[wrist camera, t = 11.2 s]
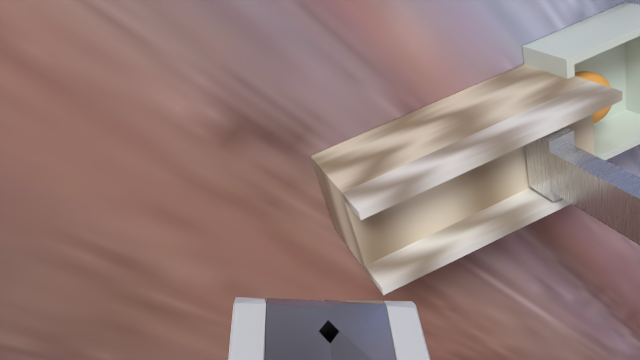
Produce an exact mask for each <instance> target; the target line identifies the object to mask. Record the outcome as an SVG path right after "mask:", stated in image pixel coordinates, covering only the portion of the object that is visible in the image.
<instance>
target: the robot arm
mask: <svg viewBox="0 0 640 360" xmlns="http://www.w3.org/2000/svg"><path fill="white" fill-rule="evenodd" d="M228 360H430V356H429V352H428V348H427V345H426V341H425V337H424V333H423V330H422V326H421V322H420V318H419V314H418V311H417V307H416V305H415V304H414V303H413V301H383V302H382V301H378V300H324V301H320V300H299V299H277V298H267V301H266V298H245V297H236V298H235V302H234V305H233V315H232V326H231V336H230V347H229V357H228Z"/></svg>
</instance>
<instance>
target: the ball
mask: <svg viewBox="0 0 640 360" xmlns="http://www.w3.org/2000/svg"><path fill="white" fill-rule="evenodd" d="M575 76H577V77H580V78H583V79H586V80H589V81H592V82H595V83H599V84H602V85H605V86H608V87H611V86H610V84H609V82H608V81H607V80H606V79H605V78H604V77H603V76H601V75H599V74H597V73H594V72H590V71H580V72H575ZM611 106H612V105H611ZM611 106H609V107H607V108H605V109H602V110H600V111H598V112H596V113H594V114H593V124H594V123H596V122H598V121H600V120H601V119H603V118H604V117H605V116H606V115H607V113H608V112H609V110H610V109H611Z"/></svg>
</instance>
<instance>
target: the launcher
mask: <svg viewBox="0 0 640 360" xmlns="http://www.w3.org/2000/svg"><path fill="white" fill-rule="evenodd" d="M622 100H623V97H622V91H620V90H617V89H614V88H611V87H608V86H605V85H602V84H599V83H595V82H592V81H589V80H586V79H583V78H580V77H577V76H573V77H571V78H569V79H566V78H563V77H560V76H557V75H554V74H551V73H549V72H546V71H543V70H540V69H537V68H534V67H531V66H528V65H525V64H523V65H521V66H518V67H516V68H514V69H512V70H509V71H507V72H505V73H502V74H500V75H498V76H495V77H493V78H491V79H488V80H486V81H484V82H481V83H479V84H477V85H474V86H472V87H470V88H467V89H465V90H463V91H460V92H458V93H456V94H454V95H451V96H449V97H447V98H444V99H442V100H440V101H437V102H435V103H433V104H430V105H428V106H426V107H423V108H421V109H419V110H416V111H414V112H412V113H409V114H407V115H405V116H402V117H400V118H398V119H395V120H393V121H391V122H389V123H386V124H384V125H382V126H379V127H377V128H375V129H372V130H370V131H368V132H365V133H363V134H361V135H358V136H356V137H354V138H351V139H349V140H347V141H344V142H342V143H340V144H337V145H335V146H333V147H330V148H328V149H326V150H324V151H321V152H319V153H317V154H314V155H312V156H310V157H311V160H312V163H313V166H314V169H315V172H316V174H317V177H318V180H319V183H320V186H321V189H322V192H323V195H324V198H325V201H326V204H327V207H328V210H329V213H330V216H331V219H332V222H333V225H334V228H335V230H336V231H337V233H338V234H339V235H340V237H341V238H342V239H343V241H344V242H345V244H346V245H347V246H348V248H349V249H350V250H351V252H352V253H353V254H354V256H355V257H356V258H357V260H358V261H359V262H360V264H361V265H362V267H363V268H364V269H365V271H366V272H367V273H368V275H369V276H370V277H371V279H372V280H373V281H374V283H375V284H376V286H377V287H378V288H379V290H380V291H381V292H382V294H383V295H385V294H387V293H389V292H391V291H393V290H395V289H397V288H399V287H401V286H403V285H405V284H407V283H409V282H412V281H414V280H416V279H418V278H420V277H422V276H424V275H426V274H428V273H430V272H432V271H434V270H436V269H438V268H440V267H442V266H444V265H446V264H448V263H451V262H453V261H455V260H457V259H459V258H461V257H463V256H465V255H467V254H469V253H471V252H473V251H475V250H477V249H479V248H481V247H483V246H485V245H487V244H490V243H492V242H494V241H496V240H498V239H500V238H502V237H504V236H506V235H508V234H510V233H512V232H514V231H516V230H518V229H520V228H522V227H524V226H526V225H529V224H531V223H533V222H535V221H537V220H539V219H541V218H543V217H545V216H547V215H549V214H551V213H553V212H555V211H557V210H559V209H561V208H563V207H565V206H568V205H570V204H571V203H569V202H568V201H566V200H565V199H563V198H560V199H558V200H556V201H552V200H551V199H549V198H547V197H546V196H544V195H543V194H541V193H539V192H538V191H536V190H535V189H533V188H532V187H530V186H529V178H528V169H527V160H526V151H525V145H526V144H528V143H531V142H533V141H535V140H537V139H539V138H541V137H544V136H546V135H548V134H550V133H552V132H554V131H557V130H559V129H561V128H563V127H567V128H569V129H571V130H574V140H575V146H576V147H578V148H580V149H582V150H584V151H586V152H588V153H591V154H593V155H594V131H593V114H594V113H596V112H598V111H600V110H602V109H605V108H607V107H609V106H611V105H613V104H615V103H618V102H620V101H622Z"/></svg>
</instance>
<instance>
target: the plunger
mask: <svg viewBox="0 0 640 360" xmlns="http://www.w3.org/2000/svg"><path fill="white" fill-rule="evenodd" d="M525 151H526V160H527V169H528V178H529V186H530V187H532V188H533V189H535V190H536V191H538V192H539V193H541V194H543V195H544V196H546V197H547V198H549V199H551V200H552V201H556V200H558V199H560V198H563V199H565V200H566V201H568V202H569V203H571V204H573V205H574V206H576V207H578V208H579V209H581V210H583V211H584V212H586V213H587V214H589V215H591V216H592V217H594V218H596V219H597V220H599V221H601V222H602V223H604V224H606V225H607V226H609V227H610V228H612V229H614V230H615V231H617V232H619V233H620V234H622V235H624V236H625V237H627V238H629V239H630V240H632V241H633V242H635V243H637V244H638V245H640V177H638V176H636V175H634V174H632V173H630V172H628V171H626V170H624V169H622V168H620V167H618V166H616V165H613V164H611V163H609V162H607V161H605V160H603V159H601V158H599V157H597V156H595V155H593V154H591V153H588V152H586V151H584V150H582V149H580V148H578V147H576V146H575V140H574V130H571V129H569V128H567V127H563V128H561V129H559V130H557V131H554V132H552V133H550V134H548V135H546V136H544V137H541V138H539V139H537V140H535V141H533V142H531V143H528V144H526V145H525Z"/></svg>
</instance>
